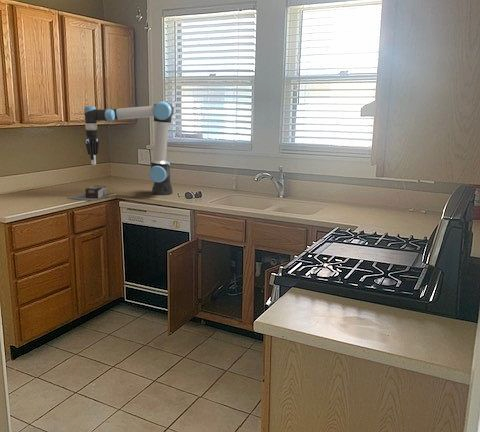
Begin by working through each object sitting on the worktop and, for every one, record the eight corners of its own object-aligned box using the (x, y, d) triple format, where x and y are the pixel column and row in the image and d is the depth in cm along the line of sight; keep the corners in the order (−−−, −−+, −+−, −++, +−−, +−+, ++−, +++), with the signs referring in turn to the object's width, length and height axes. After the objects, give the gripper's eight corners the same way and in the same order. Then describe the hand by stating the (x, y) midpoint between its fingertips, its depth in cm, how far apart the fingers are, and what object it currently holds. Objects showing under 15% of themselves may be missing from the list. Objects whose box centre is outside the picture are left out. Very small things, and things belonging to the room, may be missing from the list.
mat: (108, 196, 328) (108, 195, 328) (91, 200, 312) (90, 200, 312) (85, 193, 336) (85, 193, 336) (67, 198, 320) (67, 197, 320)
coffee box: (106, 185, 332) (98, 189, 317) (107, 194, 334) (98, 198, 318) (93, 184, 333) (84, 188, 317) (94, 193, 334) (85, 198, 319)
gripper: (93, 129, 327) (95, 163, 333) (80, 130, 316) (82, 165, 321) (102, 129, 325) (104, 163, 330) (89, 130, 313) (91, 165, 318)
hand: (93, 164), depth 326 cm, fingers closed
